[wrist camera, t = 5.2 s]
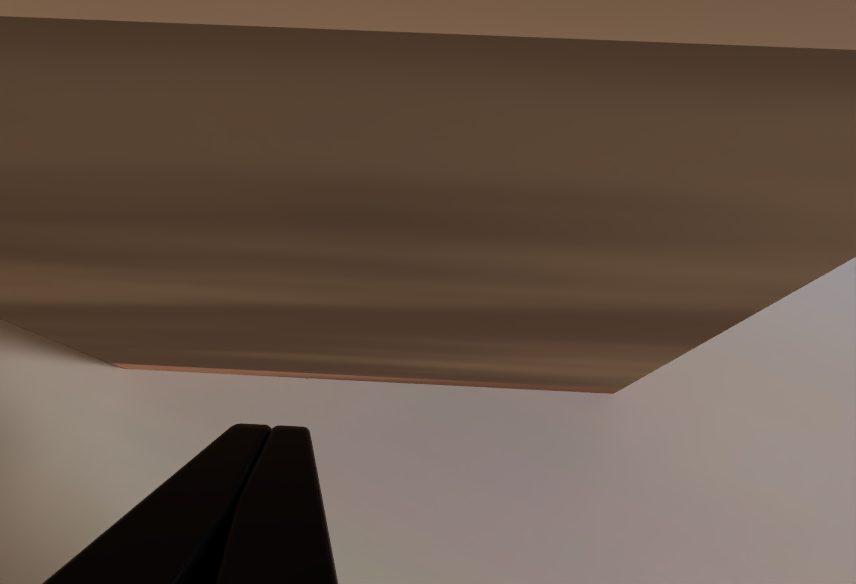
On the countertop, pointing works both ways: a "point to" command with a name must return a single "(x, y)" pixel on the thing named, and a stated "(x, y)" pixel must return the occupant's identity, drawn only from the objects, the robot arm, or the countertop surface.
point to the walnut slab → (419, 181)
